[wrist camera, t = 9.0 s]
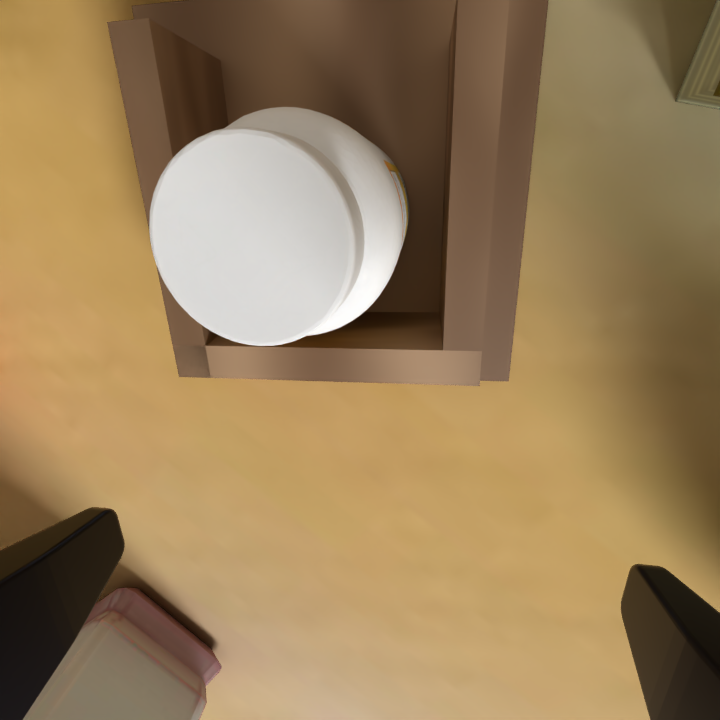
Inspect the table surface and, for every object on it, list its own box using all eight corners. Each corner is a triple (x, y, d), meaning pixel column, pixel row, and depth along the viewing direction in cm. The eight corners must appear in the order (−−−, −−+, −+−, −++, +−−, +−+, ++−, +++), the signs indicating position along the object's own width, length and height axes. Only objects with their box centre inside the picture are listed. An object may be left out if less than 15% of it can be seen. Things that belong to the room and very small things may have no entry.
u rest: (547, -28, 14) (606, -129, 9) (506, 375, 19) (531, 436, 15) (141, 11, 16) (26, -57, 11) (204, 367, 21) (143, 418, 17)
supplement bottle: (245, 213, 17) (60, 246, 9) (336, 99, 16) (219, -11, 7) (342, 308, 18) (266, 427, 10) (440, 212, 16) (459, 248, 8)
